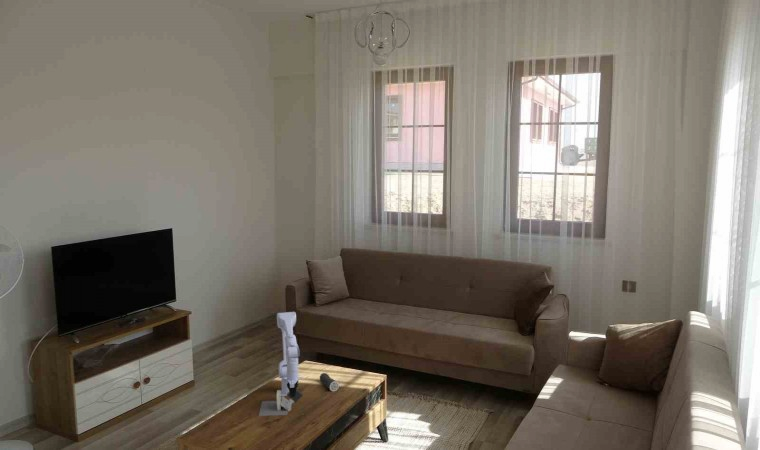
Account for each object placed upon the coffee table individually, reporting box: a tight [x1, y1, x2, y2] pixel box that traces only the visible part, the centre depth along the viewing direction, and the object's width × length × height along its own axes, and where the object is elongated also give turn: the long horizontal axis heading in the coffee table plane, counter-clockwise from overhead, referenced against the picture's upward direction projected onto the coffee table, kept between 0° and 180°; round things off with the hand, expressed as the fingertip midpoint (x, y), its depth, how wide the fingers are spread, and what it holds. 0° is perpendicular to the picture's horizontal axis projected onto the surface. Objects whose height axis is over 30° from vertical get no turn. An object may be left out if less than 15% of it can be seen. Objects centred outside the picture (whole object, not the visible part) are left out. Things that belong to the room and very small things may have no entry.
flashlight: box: [319, 372, 340, 392], centre depth 314 cm, size 15×5×5 cm, turn 29°
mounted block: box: [280, 388, 304, 412], centre depth 286 cm, size 8×10×6 cm
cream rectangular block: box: [275, 389, 282, 410], centre depth 286 cm, size 6×2×8 cm, turn 6°
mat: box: [258, 399, 289, 417], centre depth 286 cm, size 16×14×1 cm
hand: (292, 395), depth 286 cm, fingers open, 2 cm apart
